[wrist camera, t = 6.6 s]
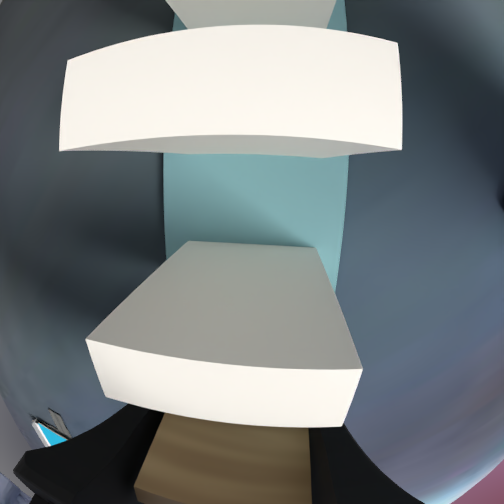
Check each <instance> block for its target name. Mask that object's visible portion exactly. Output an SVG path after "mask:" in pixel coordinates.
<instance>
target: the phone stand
mask: <svg viewBox="0 0 504 504" xmlns="http://www.w3.org/2000/svg"><path fill="white" fill-rule="evenodd" d="M48 410H49V409H48ZM49 412H50V414H51V416H52V418H53V420H54V423H55V425H56V427H57V429H56V428H55V427H53V426H51V425H50V426H49V425H47V424H46V423H44V422H43V423H44V424H45V425H46V426H48V427H49V428H50V429H49V428H48V427H46V426H44V425H43V424H41V423H39V422H38V420H37V418H36V419H35V421H34V422H33V423H32V426H33V427H34V429H35V431H36V432H37V434H38V436H39V437H40V439H41V440H42V442H43V444H44V445H45V447H48V446H52V445H55V444H58V443H61V442H64V441H66V440H69V439H72V437H71V435H70V433H69V431H68V429H67V428H66V427H65V425H64V423H63V421H62V419H61V416H59V415H57V414H56V413H55V414H54V412H52V411H51V410H49ZM55 415H56V416H55ZM56 417H57V418H56ZM57 419H58V420H57ZM58 421H59V422H58ZM59 423H60V424H59ZM52 430H53V431H52ZM55 432H56V433H55Z"/></svg>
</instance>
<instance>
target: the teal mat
mask: <svg viewBox="0 0 504 504" xmlns="http://www.w3.org/2000/svg"><path fill="white" fill-rule="evenodd" d="M326 29H331V30H338V31H345V32H347V22H346V11H345V2H344V0H336V3H335V6H334V9H333V11H332V14H331V17H330V20H329V23H328V25H327V28H326ZM181 30H188V29H187V27H186V26H185V25H184V23H183V22H182V21H181V20H180V18H179V17H178V16H177V14H176V13H175V16H174V23H173V31H172V32H174V31H181ZM348 161H349V155H344V156H336V157H328V158H312V157H299V156H282V155H260V154H177V153H164V167H163V180H164V224H165V245H166V260H167V259H169V258H170V257H171V256H172V255H173V254H174V253H175V252H176V251H177V250H179V249H180V248H181V247H182V246H183V245H184V244H185V243H186V242H187V241H203V242H222V243H241V244H259V245H277V246H295V247H312V248H316V249H317V251H318V254H319V256H320V259H321V261H322V263H323V266H324V268H325V271H326V273H327V275H328V278H329V280H330V283H331V285H332V288H333V290H334V293H335V288H336V282H337V275H338V268H339V260H340V252H341V244H342V235H343V226H344V216H345V205H346V193H347V179H348Z"/></svg>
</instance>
